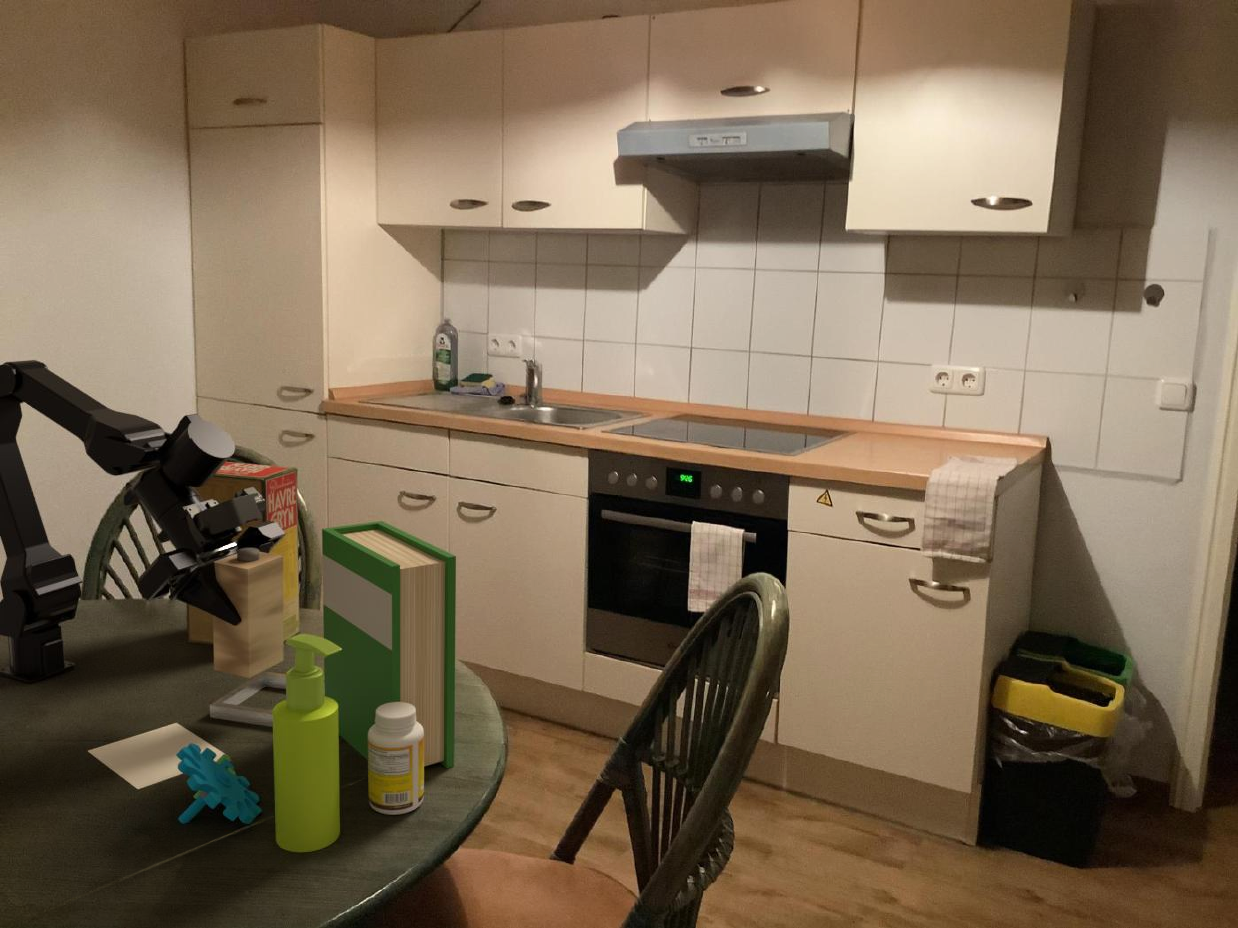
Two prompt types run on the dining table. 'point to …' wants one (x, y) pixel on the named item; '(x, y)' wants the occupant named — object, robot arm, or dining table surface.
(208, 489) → the food packaging
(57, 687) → the dining table surface
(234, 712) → the pocket
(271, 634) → the block
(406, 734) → the supplement bottle
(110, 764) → the beige flat slab
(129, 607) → the dining table surface
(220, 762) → the gear
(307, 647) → the soap dispenser
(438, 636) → the hardback book
